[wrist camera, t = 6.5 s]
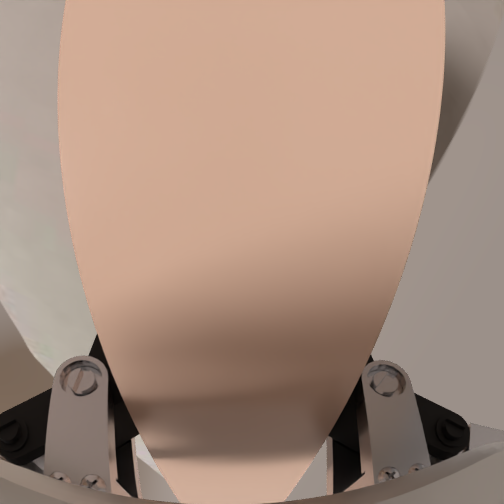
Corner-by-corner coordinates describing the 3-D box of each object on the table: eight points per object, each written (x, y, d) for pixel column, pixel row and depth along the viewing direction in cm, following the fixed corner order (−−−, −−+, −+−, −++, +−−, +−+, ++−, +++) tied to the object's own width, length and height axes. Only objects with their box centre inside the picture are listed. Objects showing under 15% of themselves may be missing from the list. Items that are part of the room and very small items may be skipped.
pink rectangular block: (166, 34, 6) (77, -49, 1) (316, 41, 7) (443, -14, 2) (188, 413, 14) (185, 510, 9) (265, 413, 14) (279, 508, 9)
